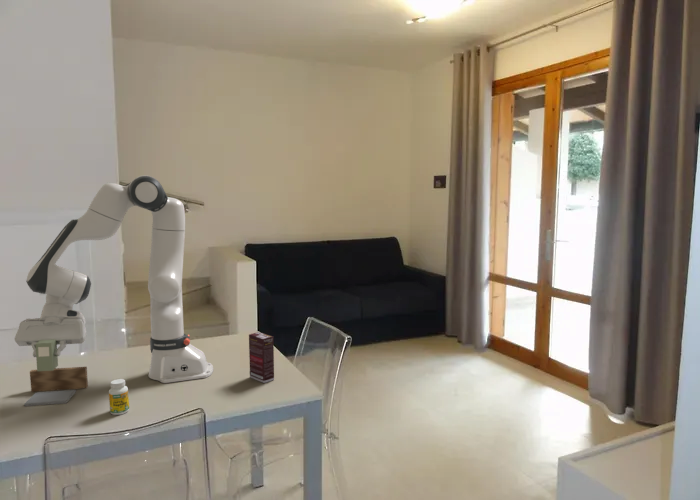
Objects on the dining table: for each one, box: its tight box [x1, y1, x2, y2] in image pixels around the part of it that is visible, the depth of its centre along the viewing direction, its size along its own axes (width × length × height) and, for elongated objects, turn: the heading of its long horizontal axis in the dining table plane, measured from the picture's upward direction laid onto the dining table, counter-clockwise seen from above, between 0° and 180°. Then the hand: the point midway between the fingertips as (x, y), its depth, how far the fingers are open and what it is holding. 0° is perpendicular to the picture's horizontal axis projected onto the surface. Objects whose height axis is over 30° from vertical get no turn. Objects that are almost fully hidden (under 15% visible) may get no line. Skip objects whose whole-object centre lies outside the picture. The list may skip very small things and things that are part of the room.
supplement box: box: [248, 331, 275, 384], centre depth 181 cm, size 9×5×16 cm, turn 47°
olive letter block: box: [35, 339, 59, 371], centre depth 163 cm, size 4×5×9 cm
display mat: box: [23, 389, 77, 407], centre depth 165 cm, size 12×9×1 cm
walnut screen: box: [29, 366, 89, 393], centre depth 172 cm, size 17×2×7 cm, turn 101°
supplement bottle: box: [108, 378, 130, 416], centre depth 155 cm, size 5×5×10 cm
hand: (46, 355), depth 163 cm, fingers closed on olive letter block, 4 cm apart
